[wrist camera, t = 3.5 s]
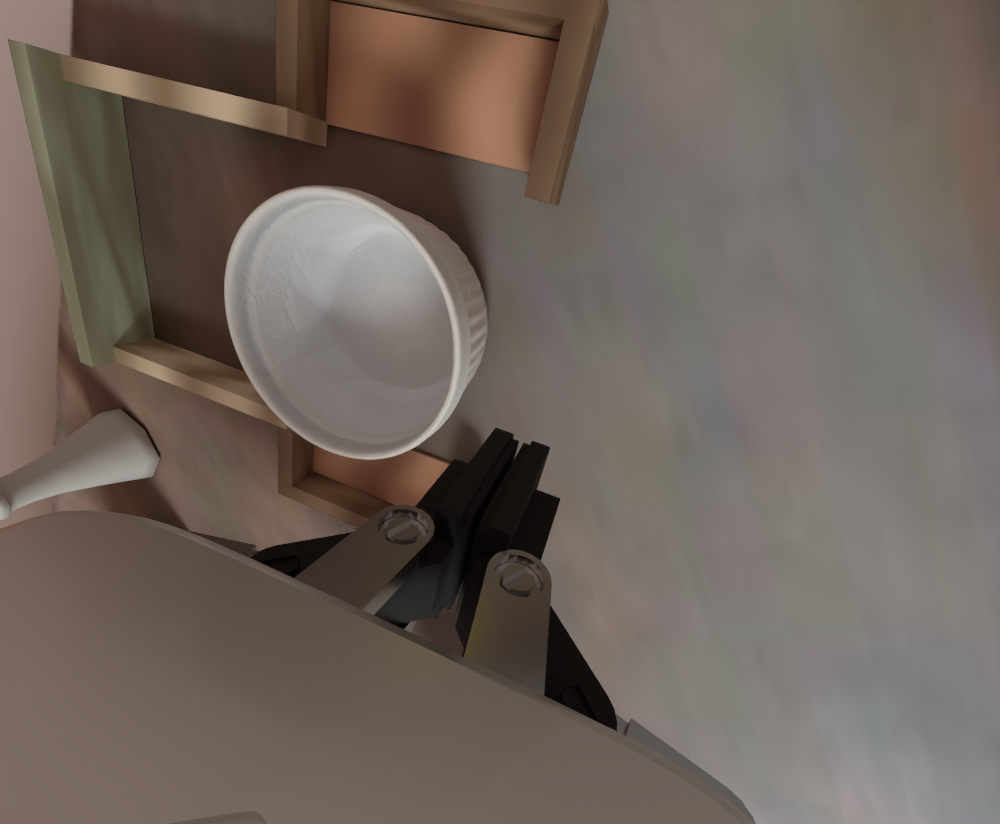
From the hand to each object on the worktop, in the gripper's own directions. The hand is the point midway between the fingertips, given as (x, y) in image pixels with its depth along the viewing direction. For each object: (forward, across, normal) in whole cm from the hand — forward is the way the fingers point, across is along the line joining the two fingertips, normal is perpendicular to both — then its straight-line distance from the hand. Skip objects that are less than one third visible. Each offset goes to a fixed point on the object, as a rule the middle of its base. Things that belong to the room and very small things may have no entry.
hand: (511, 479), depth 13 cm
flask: (+13, +37, +21) cm, 44 cm away
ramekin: (+14, +11, +1) cm, 17 cm away
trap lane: (+13, +18, +1) cm, 23 cm away
